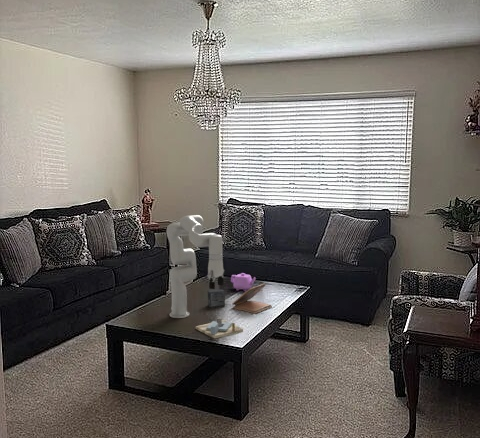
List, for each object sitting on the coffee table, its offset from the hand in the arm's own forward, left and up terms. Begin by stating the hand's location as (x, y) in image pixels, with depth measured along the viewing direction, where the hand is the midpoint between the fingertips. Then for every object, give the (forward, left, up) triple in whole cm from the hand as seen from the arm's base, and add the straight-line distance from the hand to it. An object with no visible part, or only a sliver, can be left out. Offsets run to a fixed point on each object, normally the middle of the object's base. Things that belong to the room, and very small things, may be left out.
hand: (216, 286), depth 288 cm
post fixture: (-6, +6, -28) cm, 30 cm away
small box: (-48, +32, -29) cm, 65 cm away
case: (-30, +49, -29) cm, 64 cm away
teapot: (-71, +72, -29) cm, 105 cm away
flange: (-4, +3, -26) cm, 27 cm away
